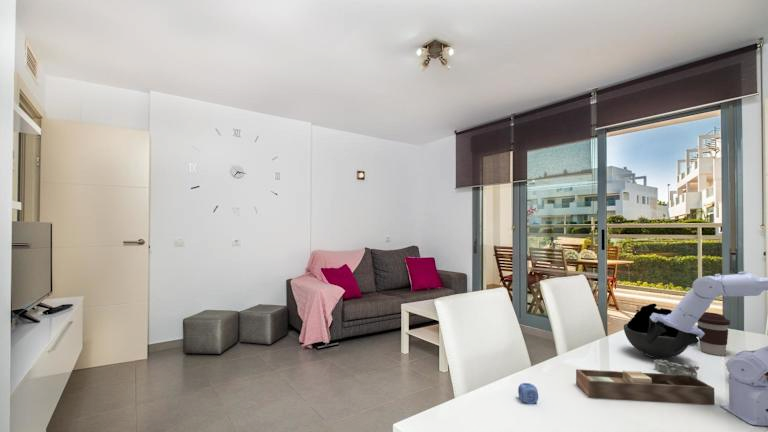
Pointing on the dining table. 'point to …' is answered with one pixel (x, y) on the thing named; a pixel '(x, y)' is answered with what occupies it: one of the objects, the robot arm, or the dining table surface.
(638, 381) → the beech block
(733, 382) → the robot arm
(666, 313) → the bowl of black rocks
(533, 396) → the decorative dice
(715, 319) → the coffee cup
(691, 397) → the brown wooden long box
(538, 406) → the dining table surface
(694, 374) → the egg carton
